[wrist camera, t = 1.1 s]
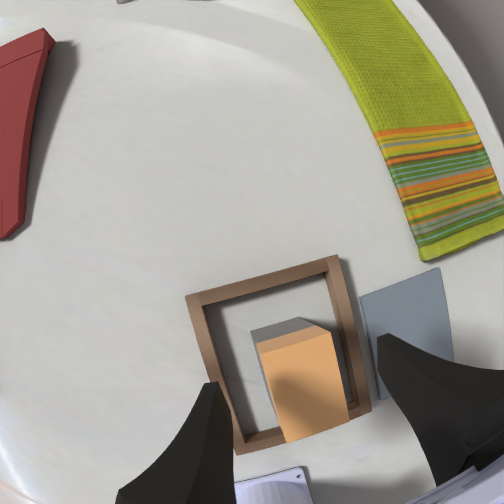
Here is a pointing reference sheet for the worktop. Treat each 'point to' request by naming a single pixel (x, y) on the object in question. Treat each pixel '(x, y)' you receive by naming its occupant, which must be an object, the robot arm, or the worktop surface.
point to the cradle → (325, 265)
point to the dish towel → (413, 123)
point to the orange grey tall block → (301, 377)
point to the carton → (18, 120)
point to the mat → (409, 317)
